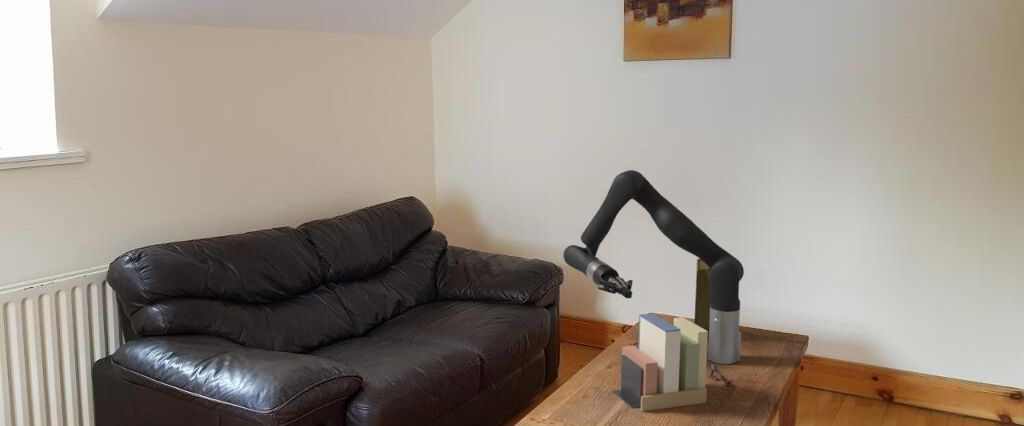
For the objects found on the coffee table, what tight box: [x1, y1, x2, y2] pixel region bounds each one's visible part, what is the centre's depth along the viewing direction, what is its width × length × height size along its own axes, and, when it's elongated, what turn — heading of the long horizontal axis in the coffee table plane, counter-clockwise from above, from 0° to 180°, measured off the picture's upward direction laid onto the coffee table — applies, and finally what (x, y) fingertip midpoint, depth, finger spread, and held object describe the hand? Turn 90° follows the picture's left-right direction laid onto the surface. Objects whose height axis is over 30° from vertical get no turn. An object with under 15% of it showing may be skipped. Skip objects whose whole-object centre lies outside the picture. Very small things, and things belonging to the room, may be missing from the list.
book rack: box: [621, 316, 708, 412], centre depth 243 cm, size 21×16×20 cm
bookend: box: [612, 354, 643, 409], centre depth 242 cm, size 3×12×11 cm, turn 18°
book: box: [693, 258, 711, 340], centre depth 300 cm, size 16×6×25 cm, turn 168°
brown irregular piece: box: [708, 364, 732, 387], centre depth 256 cm, size 2×8×4 cm, turn 31°
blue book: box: [637, 312, 681, 394], centre depth 244 cm, size 5×16×22 cm, turn 18°
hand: (629, 295), depth 264 cm, fingers closed
